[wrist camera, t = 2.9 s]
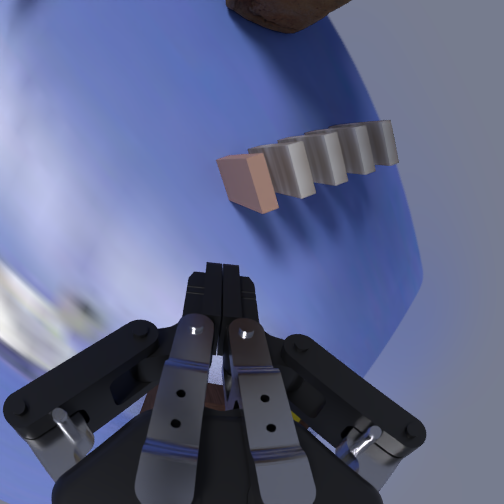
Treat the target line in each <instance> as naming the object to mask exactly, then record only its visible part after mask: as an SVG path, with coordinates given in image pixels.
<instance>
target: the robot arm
mask: <svg viewBox="0 0 504 504" xmlns="http://www.w3.org/2000/svg"><path fill="white" fill-rule="evenodd" d="M217 342H218V343H217ZM216 350H217V355H220V356H223V365H222V380H223V390H224V399H225V411H218V410H214V409H211V408H208V407H205V399H206V391H207V383H208V375H209V368H210V367H211V363H212V355H216ZM158 384H159V386H158V390H157V394H156V399H155V403H154V407H153V409H150V410H147V411H144V412H142V413H140V414H138V415H137V416H135V417H134V418H133V419H131V420H130V421H129V422H128V423H126V424H125V425H124V426H123V427H122V428H120V429H119V430H118V431H117V432H116V433H114V434H113V435H112V436H111V437H109V438H108V439H107V440H106V441H105V442H103V443H102V444H101V445H100V446H98V447H97V448H96V449H95V450H93V451H92V452H91V453H89V454H88V455H87V456H86V454H87V453H88V452H89V451H90V450H91V449H92V447H93V445H94V435H93V433H94V432H95V431H97V430H98V429H99V428H101V427H102V426H104V425H105V424H106V423H108V422H109V421H110V420H112V419H113V418H114V417H116V416H117V415H119V414H120V413H121V412H123V411H124V410H125V409H127V408H128V407H129V406H131V405H132V404H133V403H135V402H136V401H137V400H138V399H140V398H141V397H142V396H144V395H145V394H146V393H148V392H149V391H150V390H152V389H153V388H154V387H155V386H157V385H158ZM291 411H292V412H293V413H295V414H296V415H297V416H298V417H299V418H300V419H301V420H302V421H304V422H305V423H306V424H307V425H308V426H309V427H311V428H312V429H313V430H314V431H315V432H317V433H318V434H319V435H320V436H321V437H322V438H324V439H325V440H326V441H327V442H329V443H330V444H331V445H332V446H333V447H335V448H336V455H335V454H334V453H333V452H332V451H331V450H329V449H328V448H327V447H326V446H325V445H324V444H323V443H321V442H320V441H319V440H318V439H317V438H316V437H315V436H314V435H313V434H311V433H310V432H309V431H308V430H307V429H306V428H305V427H304V426H303V425H301V424H300V423H298V422H297V421H295V420H293V417H292V414H291ZM3 413H4V417H5V419H6V420H7V422H8V423H9V424H10V425H11V426H12V427H13V428H14V429H15V430H16V432H17V433H18V435H19V436H20V437H21V438H22V439H23V440H24V441H25V442H27V443H28V444H29V446H30V447H31V449H32V451H33V452H34V454H35V455H36V457H37V458H38V460H39V461H40V462H41V464H42V465H43V467H44V468H45V470H46V471H47V472H48V474H49V475H50V476H51V478H52V479H53V480H54V482H55V485H54V487H53V490H52V504H383V501H382V498H381V496H380V494H379V491H380V489H381V488H382V487H383V485H384V484H385V483H386V481H387V480H388V478H389V477H390V476H391V474H392V473H393V472H394V470H395V469H396V467H397V466H398V464H399V463H400V461H401V460H402V459H403V458H405V457H406V456H407V455H409V454H410V453H412V452H413V451H414V450H416V449H417V448H418V447H420V446H421V445H422V444H423V443H424V441H425V438H426V430H425V427H424V425H423V424H422V423H421V421H419V420H418V419H417V418H415V417H414V416H413V415H411V414H410V413H408V412H407V411H406V410H404V409H403V408H402V407H400V406H399V405H398V404H396V403H395V402H394V401H392V400H391V399H389V398H388V397H387V396H385V395H384V394H383V393H381V392H380V391H379V390H377V389H376V388H375V387H373V386H372V385H371V384H369V383H368V382H367V381H365V380H364V379H363V378H362V377H360V376H359V375H358V374H356V373H355V372H354V371H352V370H351V369H350V368H348V367H347V366H346V365H345V364H343V363H342V362H341V361H339V360H338V359H337V358H335V357H334V356H333V355H332V354H330V353H329V352H328V351H326V350H325V349H324V348H323V347H321V346H320V345H319V344H318V343H316V342H315V341H314V340H312V339H311V338H310V337H308V336H305V335H302V334H293V335H290V336H288V337H287V338H286V339H285V340H283V339H280V338H276V337H273V336H271V335H269V334H267V333H266V332H265V331H264V329H263V327H262V326H261V325H260V324H259V318H258V310H257V302H256V294H255V286H254V283H253V282H252V281H251V279H250V278H249V277H243V276H240V275H239V265H230V264H223V268H222V264H220V263H211V262H207V265H206V273H203V272H194V273H193V274H192V275H191V276H190V277H189V279H188V285H187V291H186V297H185V303H184V309H183V315H182V318H181V319H180V320H179V322H178V323H177V324H175V325H174V326H171V327H167V328H160V329H157V327H156V326H155V325H154V324H153V323H151V322H149V321H146V320H135V321H131V322H129V323H128V324H126V325H124V326H123V327H121V328H119V329H118V330H116V331H114V332H113V333H111V334H109V335H108V336H106V337H104V338H103V339H101V340H100V341H98V342H96V343H95V344H93V345H91V346H90V347H88V348H86V349H85V350H83V351H81V352H80V353H78V354H76V355H75V356H73V357H72V358H70V359H68V360H67V361H65V362H63V363H62V364H60V365H58V366H57V367H55V368H53V369H52V370H50V371H48V372H47V373H45V374H44V375H42V376H40V377H39V378H37V379H35V380H34V381H32V382H30V383H29V384H27V385H26V386H24V387H22V388H21V389H19V390H17V391H16V392H14V393H12V394H11V395H10V396H9V397H8V398H7V399H6V400H5V402H4V406H3ZM85 456H86V457H85Z"/></svg>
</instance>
